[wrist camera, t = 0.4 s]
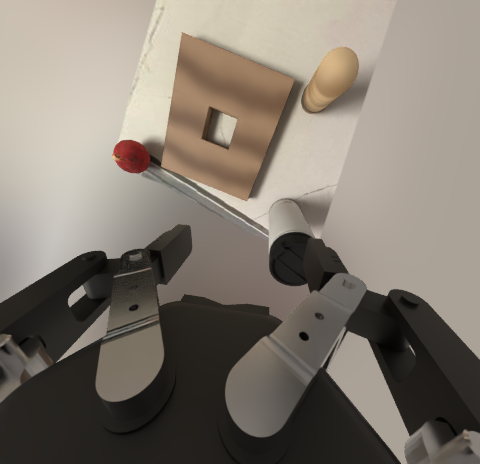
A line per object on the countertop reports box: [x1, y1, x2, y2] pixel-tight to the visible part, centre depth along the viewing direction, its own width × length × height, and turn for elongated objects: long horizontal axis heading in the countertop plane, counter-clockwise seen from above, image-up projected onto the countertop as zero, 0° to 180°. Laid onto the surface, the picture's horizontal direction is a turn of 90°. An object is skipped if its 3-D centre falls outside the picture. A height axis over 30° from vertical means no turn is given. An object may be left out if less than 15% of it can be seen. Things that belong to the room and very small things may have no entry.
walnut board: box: [161, 32, 295, 201], centre depth 32 cm, size 20×18×2 cm
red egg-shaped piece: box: [112, 140, 151, 173], centre depth 34 cm, size 6×6×8 cm
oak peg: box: [301, 47, 359, 114], centre depth 24 cm, size 4×4×12 cm
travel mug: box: [269, 199, 315, 286], centre depth 29 cm, size 6×7×20 cm
